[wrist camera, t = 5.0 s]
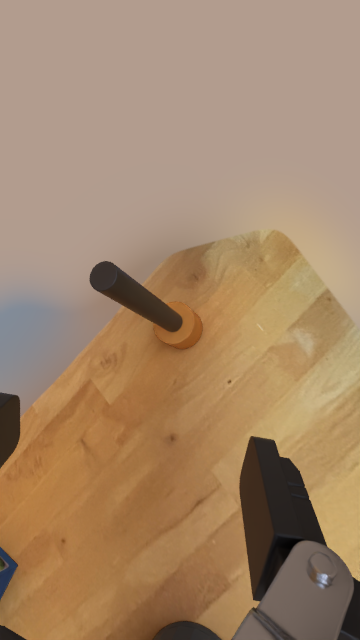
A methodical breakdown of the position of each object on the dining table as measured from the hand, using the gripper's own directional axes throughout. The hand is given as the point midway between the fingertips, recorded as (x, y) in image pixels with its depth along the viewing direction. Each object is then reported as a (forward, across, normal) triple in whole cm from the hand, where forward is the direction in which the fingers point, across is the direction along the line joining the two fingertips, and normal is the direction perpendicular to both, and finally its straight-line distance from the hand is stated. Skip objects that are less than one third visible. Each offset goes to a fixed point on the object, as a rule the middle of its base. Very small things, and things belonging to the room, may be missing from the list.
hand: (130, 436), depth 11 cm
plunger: (+28, -1, +6) cm, 28 cm away
